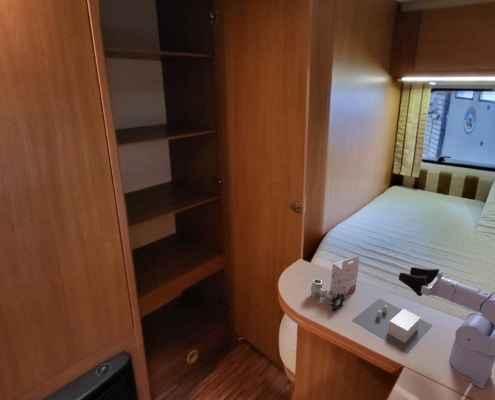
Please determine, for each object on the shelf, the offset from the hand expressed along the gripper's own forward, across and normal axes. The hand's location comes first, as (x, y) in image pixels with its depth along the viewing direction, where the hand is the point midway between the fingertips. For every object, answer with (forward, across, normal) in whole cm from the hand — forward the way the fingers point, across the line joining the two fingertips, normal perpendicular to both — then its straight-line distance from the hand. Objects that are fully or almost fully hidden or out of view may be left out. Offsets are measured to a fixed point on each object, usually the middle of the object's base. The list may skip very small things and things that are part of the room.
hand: (405, 273), depth 97 cm
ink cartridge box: (+23, -8, +18) cm, 31 cm away
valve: (+24, +3, +20) cm, 31 cm away
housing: (-2, -3, +19) cm, 20 cm away
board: (+2, -4, +20) cm, 21 cm away
